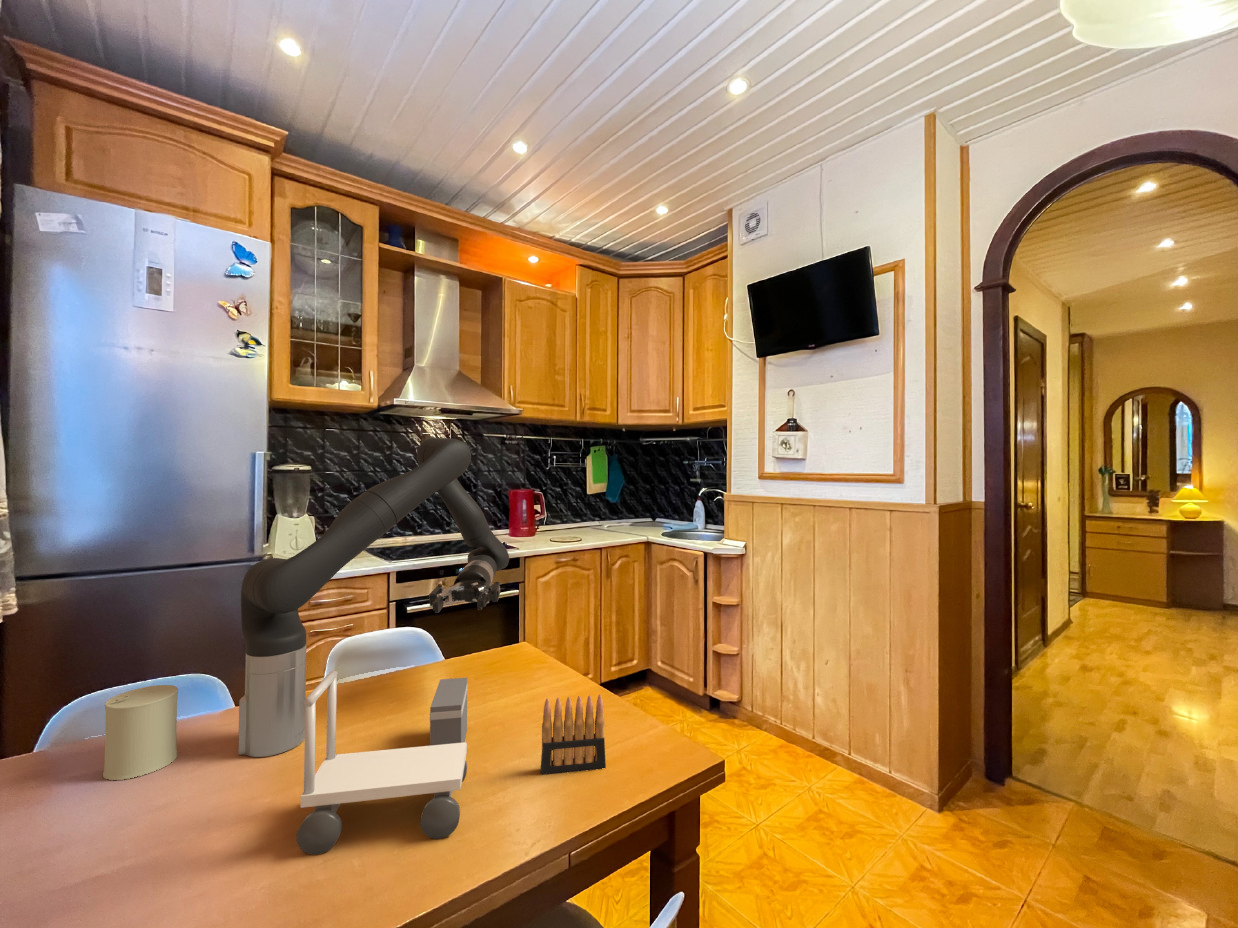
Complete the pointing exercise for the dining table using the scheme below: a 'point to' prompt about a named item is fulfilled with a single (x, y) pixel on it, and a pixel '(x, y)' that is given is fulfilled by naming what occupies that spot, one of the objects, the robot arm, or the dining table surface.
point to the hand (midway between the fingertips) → (457, 606)
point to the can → (140, 731)
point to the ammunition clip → (573, 738)
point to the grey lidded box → (449, 712)
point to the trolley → (374, 779)
